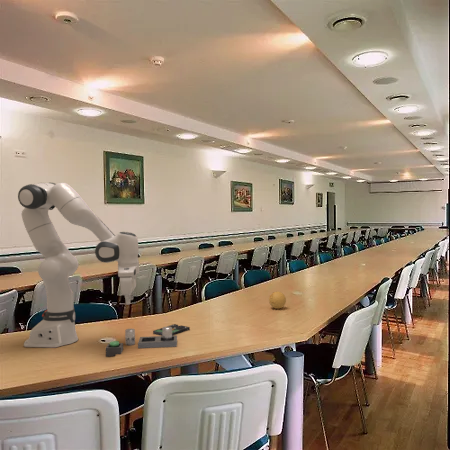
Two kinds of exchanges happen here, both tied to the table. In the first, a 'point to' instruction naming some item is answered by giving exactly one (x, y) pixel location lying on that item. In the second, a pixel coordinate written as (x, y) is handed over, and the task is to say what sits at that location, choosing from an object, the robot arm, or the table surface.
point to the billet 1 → (130, 336)
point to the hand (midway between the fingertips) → (129, 301)
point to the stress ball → (277, 300)
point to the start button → (114, 343)
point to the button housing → (114, 350)
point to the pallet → (156, 342)
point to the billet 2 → (167, 333)
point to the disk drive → (175, 330)
